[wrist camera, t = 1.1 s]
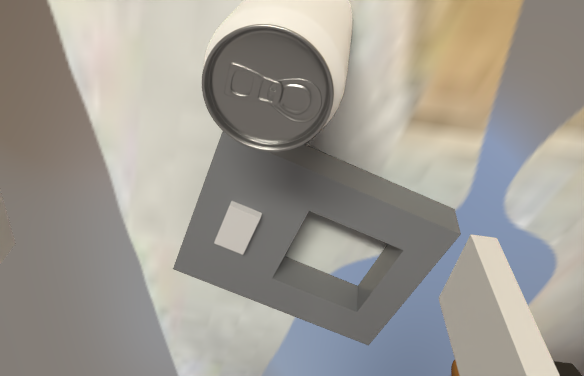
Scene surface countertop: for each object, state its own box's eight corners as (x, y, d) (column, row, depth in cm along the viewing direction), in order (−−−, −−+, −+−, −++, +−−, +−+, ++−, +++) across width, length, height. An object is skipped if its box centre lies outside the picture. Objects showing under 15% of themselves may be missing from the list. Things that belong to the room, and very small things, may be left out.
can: (334, 83, 32) (317, 177, 22) (241, 53, 31) (181, 135, 21) (368, -17, 28) (367, 43, 18) (264, -51, 28) (204, -10, 18)
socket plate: (454, 209, 36) (462, 239, 33) (368, 318, 43) (368, 351, 40) (233, 113, 34) (219, 136, 31) (184, 245, 42) (170, 274, 39)
